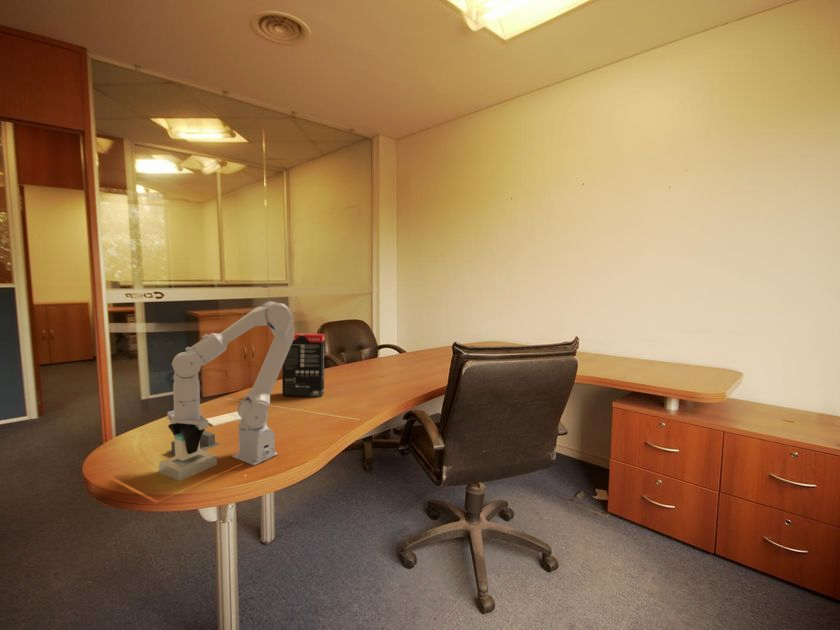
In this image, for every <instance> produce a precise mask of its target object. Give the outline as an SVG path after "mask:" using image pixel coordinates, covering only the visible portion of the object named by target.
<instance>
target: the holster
mask: <svg viewBox="0 0 840 630" xmlns="http://www.w3.org/2000/svg"><path fill="white" fill-rule="evenodd" d="M215 435H216V434H215V433H213V432H210V431H207V430H204V432H203V434H202V436H201V438H200V449H201V450H203V451H206V450H208V449H211V448H214V447H216V446H219V445H220V442H219V443H218V442H216V436H215ZM170 443H171V444H170V445H171V449H169V450H167V451H166V453H168V454H171V455H173V456H175V440H173V441H171V442H170Z"/></svg>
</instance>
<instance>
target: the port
mask: <svg viewBox="0 0 840 630" xmlns="http://www.w3.org/2000/svg"><path fill="white" fill-rule="evenodd" d="M217 465H218V456H217V454H214V453H212V452H209V451H206V450H204V451H203V450H201V449H200V454H199V455H196V456H194V457H191V458H189V459H186V460H183V461H182V460H179V459H177V458H175V456H172V457H170V458H166V459H164V460H161V461H159V462H158V472H159V473H160V474H163V475H165V476H167V477H169V478H171V479H174V480H176V481H178V482H180V481H181V480H184V479H187V478H189V477H191V476H193V475H197V474H199V473H201V472H203V471H205V470H209V469H210V468H213V467H214V466H217Z"/></svg>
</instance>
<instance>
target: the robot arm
mask: <svg viewBox="0 0 840 630" xmlns="http://www.w3.org/2000/svg"><path fill="white" fill-rule="evenodd" d="M293 320H294V314H293V313H292V311H291V310H290V308H289V307H288V305H286V304H285V303H282V302H276V301H270V300H269V301H266V302H264V303H263V304H262V305H260V306H257V307H255V308H254V309H252V310H251V311H249V312H248V313H247V314H245V315H243V316H241V318H239V319H238V320H237V321H235V322H234V323H232V324H231V325H229V327H227V328H226V329H224V330H223V331H222V332H220V333H215V332H211V333H210V334H207V333H205V334H204V335H203V336H201V338H202V339H201V340H199V341H198V342H196V343H195V344H193V345H192V346H191V347H190V346H187V347H185V348H184V349H185V351H182V352H179V353H177V354H176V355H175V356H174V358H173V359H172V363H171V367H172V369H173V371H174V373H173V381H174V382H172V383H173V384H172V391H173V392H172V393H173V394H172V395H173V410H171V411H167V415H166V417H167V420H169V424H168V427H167V428H168V429H169V430H170V432H171V433H172V435H173V437H174V438H175V435H176V434H179V433H182V434H183V436H184V438H185V442H186V449H187V453H188V454H191V453H194V452H197V449H198V445H199V442H200V438H201V436H202V434H203V432H204V431H206V429H208V428H209V424H208V420H206V419H207V418H205V417H204V416H203V414H202V413H201V406H200V405H201V397H200V392H201V391H200V390H201V389H200V379H199V373H200V371H201V369H202V366H206V365H207V364H209V363H210V362H211V361H213V360H215V359H216V358H217V357H219V356H220V355H222V354H223V353H224V352H226V351H227V349H228V344H229V343H231V342H232V341H234V340H235V339H237V338H239V337H240V336H242V335H243V334H244V333H246V332H248V331H249V330H251V329H253V328H254V327H262V326H268V327H269V329H270V331H271V333H272V334H273V336H274V337H273V339H272V342H271V344H270V347H269V349H268V351H267V354H266V356H265V358H264V361H263V363H262V365H261V368H260V369H259V372H258V374H257V377H256V378H255V381H254V384H253V386H252V388H251V389H250V390H248V392H247V394H246V396H245V398H244V399H242V400H241V401H240V402H239V404H238V405H237V406H238V407H237V411H238V414H239V416H240V417H241V418H242V419H241V421H239V424H238V452H236V453H235V454H232V455H231V457H232V458H233V459H234V458H235V459H237V460H240V461H243V462H244V463H246V464H249V465H252V466H256V465H258V464H260V463H262V462H264V461H267V460H269V459H272V458H274V457H275V456H277V455H278V452H276V444H275V443H276V438H275V437H276V436H275V432H274V430H272V429H271V428H269V426H268V424H267V421H268V417H269V414H268V413H269V412H268V411H269V407H270V405H271V393H272V391H273V389H274V386H275V384H276V382H277V380H278V378H279V375H280V372H281V371H282V369H283V363H284V361H285V359H286V356H287V354H288V351H289V349H290V347H291V344H292V342H293V340H294V336H295V335H294V333H295V329H294V327H295V326H294V321H293ZM237 411H236V412H237Z"/></svg>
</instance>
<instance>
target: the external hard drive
mask: <svg viewBox="0 0 840 630" xmlns="http://www.w3.org/2000/svg"><path fill="white" fill-rule="evenodd" d="M205 419H206V420H208V425H209V426H212V427H216V426H220V425H224V424H228V423H232V422H236V421H237V422H240V420H241V419H242V418H241V417H240V416H239V414H238V411H234V412H230V413H225V414H221V415H217V416H212V417H207V418H205Z"/></svg>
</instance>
